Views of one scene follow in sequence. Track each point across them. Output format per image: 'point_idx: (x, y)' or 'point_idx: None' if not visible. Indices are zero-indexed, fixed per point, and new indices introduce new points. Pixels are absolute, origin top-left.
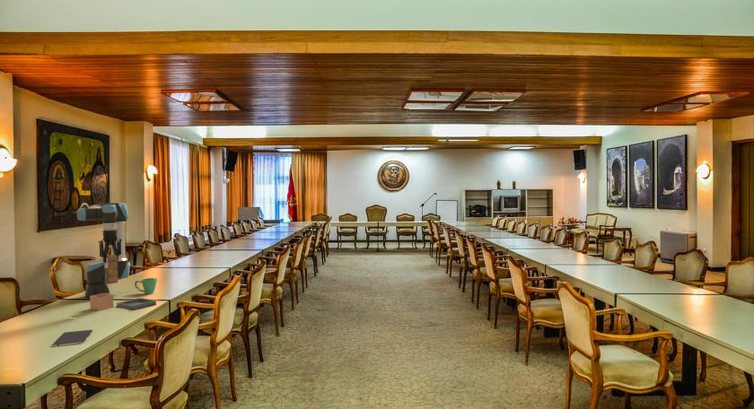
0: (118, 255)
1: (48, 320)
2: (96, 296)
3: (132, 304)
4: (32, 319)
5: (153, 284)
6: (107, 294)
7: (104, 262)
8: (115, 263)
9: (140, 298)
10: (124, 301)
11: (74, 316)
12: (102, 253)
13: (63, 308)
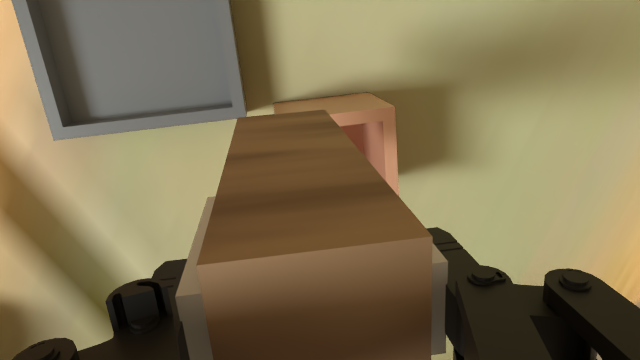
0: (138, 288)
1: (597, 142)
2: (385, 156)
3: (151, 71)
4: (612, 231)
5: None
6: None
7: (443, 236)
8: (253, 182)
9: (58, 117)
10: (186, 120)
11: (492, 113)
12: (637, 323)
13: None
